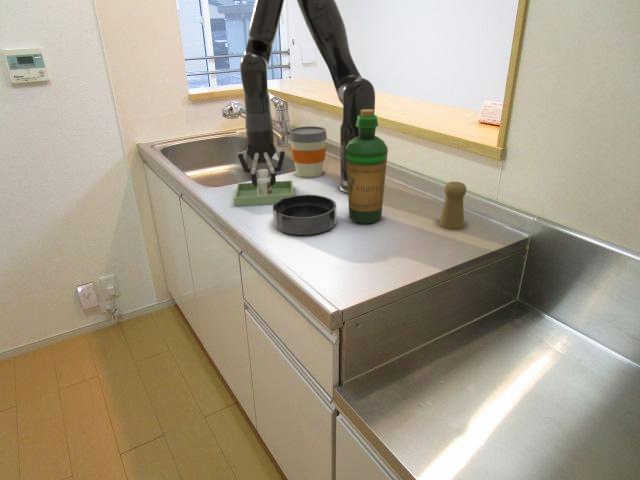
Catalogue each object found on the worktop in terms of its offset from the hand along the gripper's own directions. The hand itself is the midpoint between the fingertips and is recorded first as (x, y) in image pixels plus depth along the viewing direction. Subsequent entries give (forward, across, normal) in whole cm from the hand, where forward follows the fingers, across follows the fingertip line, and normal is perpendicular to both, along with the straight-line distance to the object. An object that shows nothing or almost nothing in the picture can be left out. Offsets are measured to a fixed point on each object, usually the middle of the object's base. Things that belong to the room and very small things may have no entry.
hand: (264, 184), depth 135 cm
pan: (+4, -11, +22) cm, 25 cm away
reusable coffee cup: (+4, -15, -21) cm, 26 cm away
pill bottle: (+4, 0, 0) cm, 4 cm away
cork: (+4, -48, +28) cm, 56 cm away
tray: (+4, 0, 0) cm, 4 cm away
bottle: (+4, -27, +21) cm, 34 cm away
